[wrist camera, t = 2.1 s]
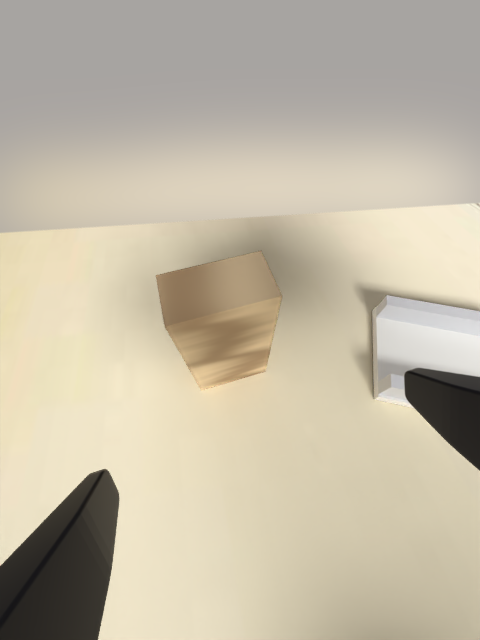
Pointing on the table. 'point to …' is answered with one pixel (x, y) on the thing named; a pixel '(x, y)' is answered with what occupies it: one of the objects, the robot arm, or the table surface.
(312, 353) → the table surface
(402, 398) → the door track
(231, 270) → the wooden block
